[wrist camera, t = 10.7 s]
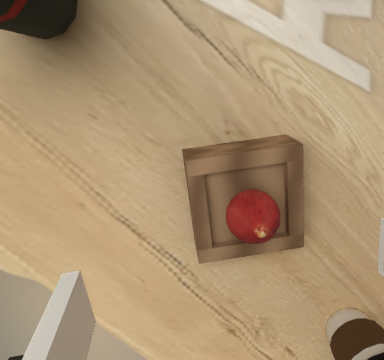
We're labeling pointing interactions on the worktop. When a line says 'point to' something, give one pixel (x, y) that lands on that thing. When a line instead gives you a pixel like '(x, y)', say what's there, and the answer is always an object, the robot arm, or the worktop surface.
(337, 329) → the coffee cup
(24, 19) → the wine bottle
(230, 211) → the pomegranate
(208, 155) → the walnut tray
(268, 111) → the worktop surface
